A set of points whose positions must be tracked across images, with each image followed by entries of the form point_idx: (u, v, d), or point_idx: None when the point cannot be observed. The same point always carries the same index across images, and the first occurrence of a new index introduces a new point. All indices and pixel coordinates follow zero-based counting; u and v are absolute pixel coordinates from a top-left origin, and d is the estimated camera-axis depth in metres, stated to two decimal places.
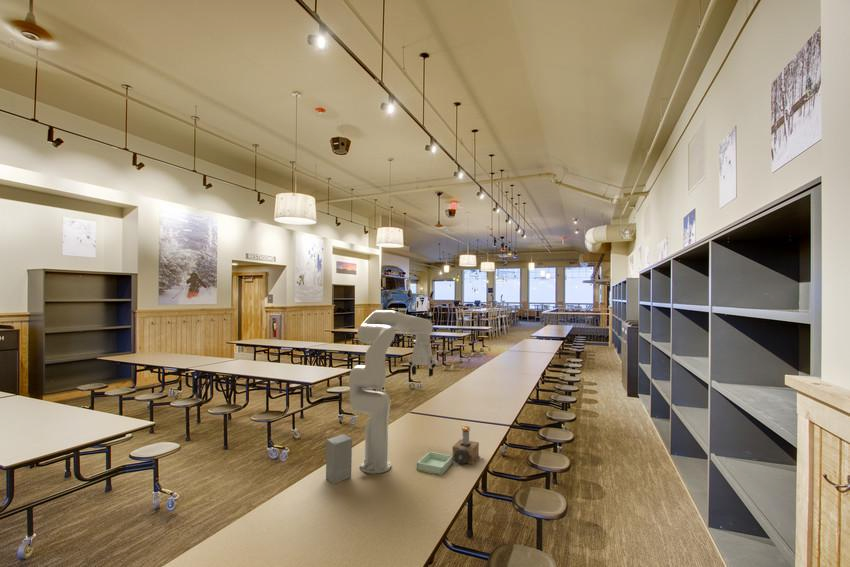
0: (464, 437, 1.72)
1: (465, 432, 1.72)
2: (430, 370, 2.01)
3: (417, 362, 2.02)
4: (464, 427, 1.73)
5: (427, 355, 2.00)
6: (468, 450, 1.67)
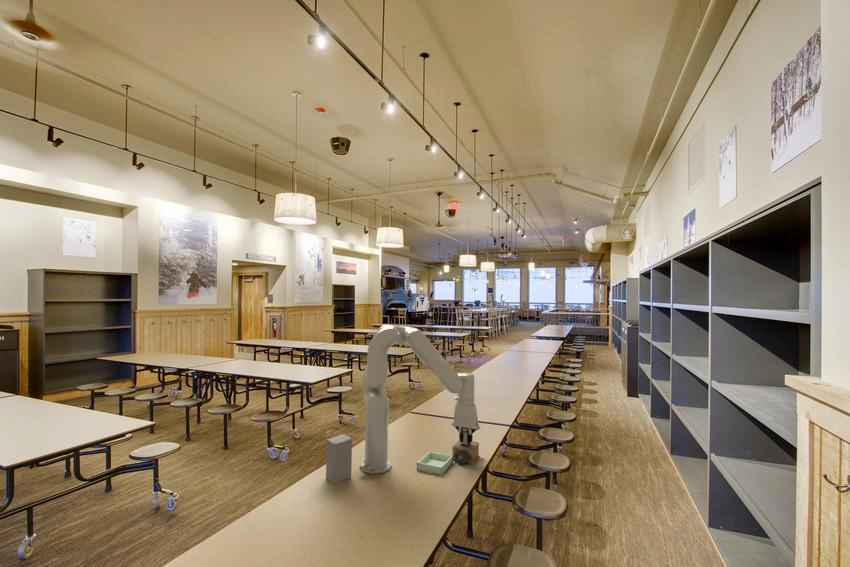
0: (464, 437, 1.72)
1: (465, 432, 1.72)
2: (469, 436, 1.71)
3: (459, 424, 1.71)
4: None
5: (472, 417, 1.69)
6: (468, 450, 1.67)
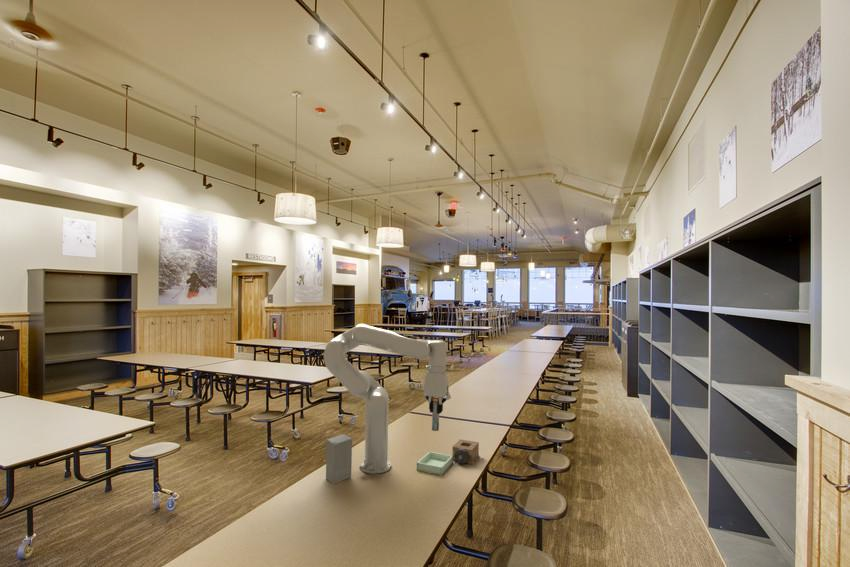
0: (434, 408, 1.64)
1: (435, 402, 1.64)
2: (439, 406, 1.63)
3: (429, 393, 1.63)
4: (434, 397, 1.65)
5: (443, 385, 1.61)
6: (468, 450, 1.67)
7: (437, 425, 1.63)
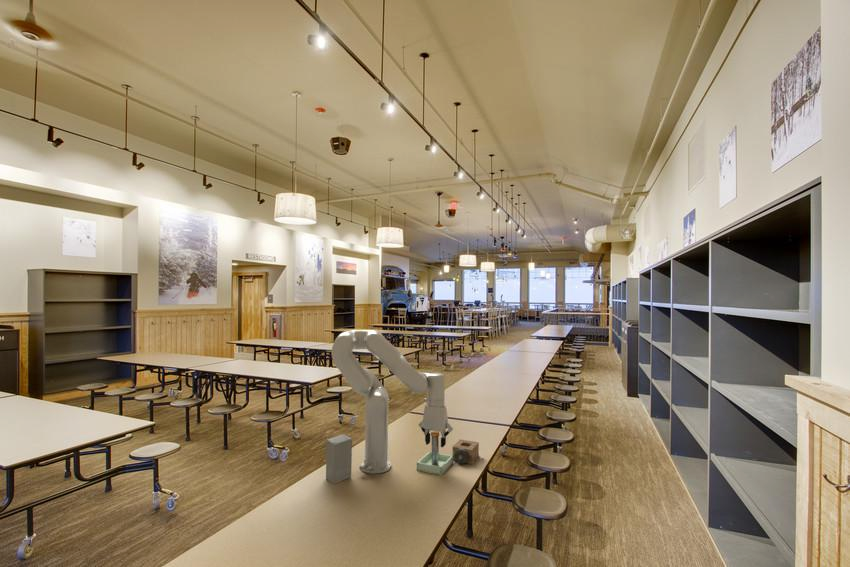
0: (433, 443, 1.63)
1: (434, 437, 1.63)
2: (442, 439, 1.61)
3: (428, 426, 1.62)
4: (433, 432, 1.64)
5: (442, 419, 1.60)
6: (468, 450, 1.67)
7: (437, 460, 1.62)
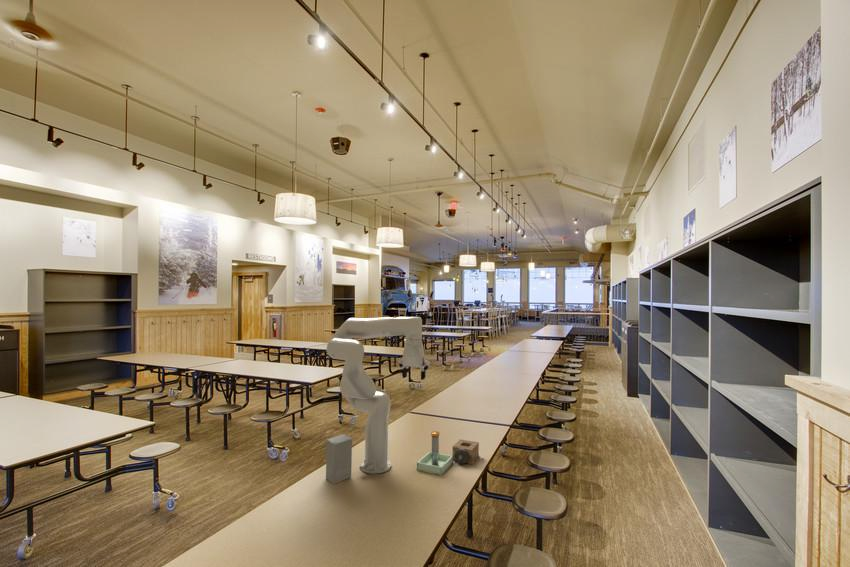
0: (433, 443, 1.63)
1: (434, 437, 1.63)
2: (422, 373, 1.81)
3: (407, 363, 1.82)
4: (433, 432, 1.64)
5: (419, 356, 1.80)
6: (468, 450, 1.67)
7: (437, 460, 1.62)
